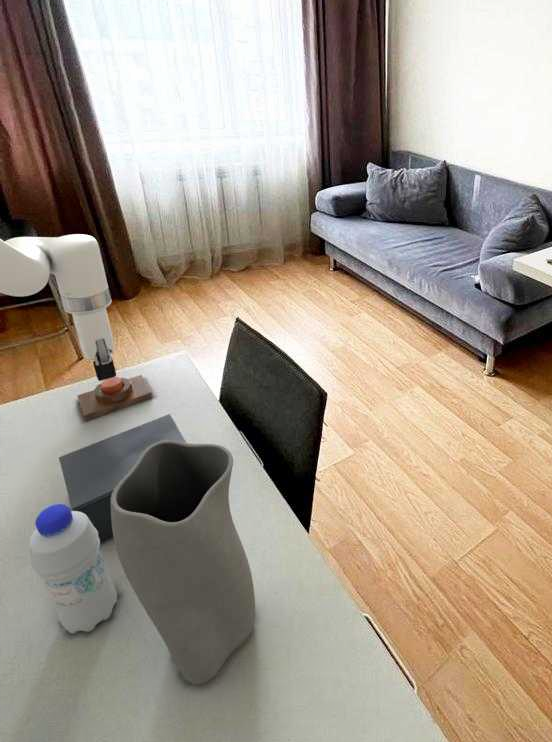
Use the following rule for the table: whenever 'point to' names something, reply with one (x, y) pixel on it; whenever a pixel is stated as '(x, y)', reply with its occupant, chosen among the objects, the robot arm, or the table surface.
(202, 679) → the vase
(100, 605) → the bottle
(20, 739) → the table surface
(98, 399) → the block
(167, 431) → the lid
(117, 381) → the button
